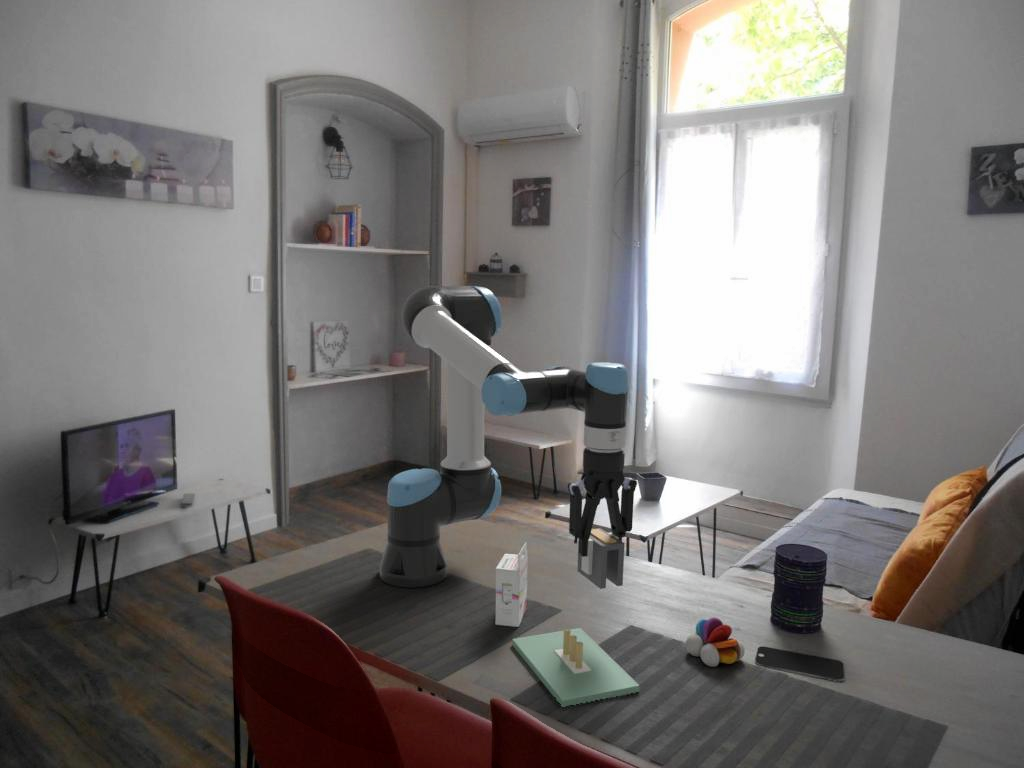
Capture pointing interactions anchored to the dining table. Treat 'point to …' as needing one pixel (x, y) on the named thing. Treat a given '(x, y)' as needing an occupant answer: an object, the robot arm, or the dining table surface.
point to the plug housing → (605, 559)
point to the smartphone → (800, 663)
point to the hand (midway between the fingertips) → (599, 569)
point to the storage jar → (798, 588)
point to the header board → (574, 667)
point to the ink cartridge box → (511, 588)
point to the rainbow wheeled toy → (714, 643)
